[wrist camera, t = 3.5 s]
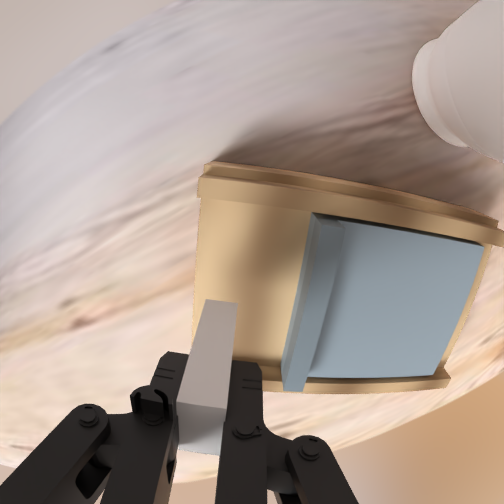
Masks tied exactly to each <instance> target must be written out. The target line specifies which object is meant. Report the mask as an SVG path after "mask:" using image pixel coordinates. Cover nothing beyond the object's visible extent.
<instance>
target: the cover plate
mask: <svg viewBox="0 0 504 504" xmlns="http://www.w3.org/2000/svg"><path fill="white" fill-rule="evenodd" d="M483 251H484V246H482V245H481V244H479V243H477V242H475V241H472V240H467V239H462V238H457V237H453V236H448V235H443V234H438V233H432V232H427V231H422V230H417V229H411V228H406V227H400V226H395V225H389V224H384V223H378V222H372V221H366V220H360V219H354V218H347V217H341V216H335V215H328V214H322V213H315V212H311V217H310V223H309V228H308V234H307V239H306V245H305V250H304V255H303V260H302V265H301V271H300V276H299V281H298V285H297V290H296V295H295V300H294V305H293V309H292V314H291V319H290V323H289V328H288V332H287V337H286V341H285V345H284V350H283V354H282V358H281V363H280V366H281V375H282V384H283V391H291V392H303V389H304V386H305V382H306V379H307V377H329V378H381V377H408V376H425V375H433V374H434V372H435V370H436V368H437V366H438V364H439V362H440V360H441V358H442V356H443V354H444V352H445V350H446V348H447V346H448V343H449V341H450V339H451V337H452V335H453V332H454V330H455V328H456V326H457V323H458V321H459V318H460V316H461V314H462V311H463V309H464V306H465V304H466V301H467V298H468V296H469V293H470V290H471V287H472V285H473V282H474V279H475V276H476V273H477V270H478V267H479V264H480V261H481V257H482V254H483Z"/></svg>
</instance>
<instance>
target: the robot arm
mask: <svg viewBox="0 0 504 504" xmlns="http://www.w3.org/2000/svg"><path fill="white" fill-rule="evenodd" d="M237 307H238V303H233V302H225V301H218V300H210V299H206V300H205V303H204V307H203V310H202V313H201V317H200V320H199V323H198V327H197V330H196V334H195V337H194V340H193V344H192V347H191V351H190V354H189V355H188V354H181V353H175V352H169V351H168V352H167V353H166V354H165V355H163V356H162V357H161V358H160V360H159V362H158V365H157V368H156V370H155V373H154V376H153V378H152V380H151V383H150V385H147V386H142V387H139V388H137V389H136V390H134V391H133V392H132V394H131V395H130V400H131V405H132V411H133V412H130V413H127V414H107V413H106V411H105V410H104V409H103V408H101V407H100V406H97V405H94V404H83V405H79V406H77V407H76V408H74V409H73V410H72V411H71V412H70V413H69V414H68V415H67V416H66V417H65V418H64V419H63V420H62V421H61V422H60V423H59V424H58V425H57V427H56V428H55V429H54V430H53V431H52V432H51V433H50V434H49V435H48V436H47V437H46V438H45V439H44V440H43V441H42V442H41V443H40V444H39V445H38V446H37V447H36V448H35V449H34V450H33V452H32V453H31V454H30V455H29V456H28V457H27V458H26V459H25V460H24V461H23V462H22V463H21V464H20V465H19V466H18V467H17V468H16V470H15V471H14V472H13V473H12V474H11V475H10V476H9V477H8V478H7V479H6V480H5V481H4V482H3V484H2V485H1V486H0V504H94V503H95V502H96V500H97V499H98V497H99V496H100V495H101V493H102V492H103V491H104V493H103V496H102V499H101V502H100V504H168V502H169V497H170V492H171V487H172V482H173V477H174V472H175V468H176V463H177V460H176V453H177V448H178V447H179V450H184V451H190V452H197V453H203V454H211V455H219V456H220V459H219V468H218V476H217V486H216V496H215V504H267V489H268V490H271V491H274V494H275V497H276V500H277V503H278V504H359V503H358V502H357V500H356V498H355V496H354V494H353V492H352V490H351V488H350V486H349V484H348V482H347V480H346V479H345V476H344V474H343V472H342V471H341V469H340V467H339V465H338V463H337V461H336V459H335V457H334V455H333V453H332V451H331V449H330V447H329V446H328V445H327V443H326V442H325V441H324V440H322V439H320V438H319V437H315V436H311V435H303V436H300V437H297V438H295V439H294V440H293V441H292V440H289V439H286V438H282V437H280V436H277V435H275V434H273V433H272V432H271V431H269V429H268V428H267V427H266V426H265V424H264V421H263V391H262V389H263V388H262V370H261V369H260V367H259V365H258V364H257V363H256V362H247V361H238V360H232V353H233V344H234V334H235V325H236V316H237ZM104 489H105V490H104Z"/></svg>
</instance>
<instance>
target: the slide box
mask: <svg viewBox="0 0 504 504" xmlns="http://www.w3.org/2000/svg"><path fill="white" fill-rule="evenodd" d="M197 197H198V198H201V203H200V214H199V226H198V239H197V252H196V267H195V283H194V301H193V322H192V344H193V340H194V337H195V334H196V330H197V327H198V323H199V320H200V317H201V313H202V310H203V307H204V303H205V300H206V299H210V300H218V301H225V302H233V303H238V307H237V316H236V325H235V334H234V344H233V353H232V360H238V361H247V362H256V363H257V364H258V365H259V367H260V369H261V370H262V388H263V389H262V391H267V392H283V393H306V394H369V393H391V392H407V391H419V390H430V389H439V388H446V387H447V385H448V383H449V381H450V380H451V377H450V376H449V375H448V373H447V372H446V370H445V369H444V365H445V364H446V362H447V360H448V358H449V356H450V354H451V351H452V349H453V347H454V345H455V343H456V341H457V339H458V337H459V334H460V332H461V330H462V328H463V325H464V323H465V321H466V318H467V316H468V313H469V311H470V309H471V306H472V303H473V301H474V298H475V296H476V293H477V290H478V288H479V285H480V282H481V279H482V276H483V273H484V270H485V267H486V264H487V261H488V258H489V254H490V251H491V248H492V245H495V246H500V247H504V231H503V230H501V229H499V228H497V225H498V220H495V219H493V218H491V217H489V216H486V215H484V214H482V213H479V212H477V211H475V210H472V209H469V208H465V207H462V206H458V205H454V204H450V203H447V202H443V201H439V200H435V199H431V198H427V197H423V196H419V195H415V194H410V193H406V192H402V191H397V190H393V189H388V188H383V187H379V186H374V185H369V184H364V183H359V182H354V181H348V180H343V179H338V178H332V177H326V176H320V175H315V174H308V173H302V172H296V171H289V170H282V169H275V168H268V167H261V166H253V165H245V164H236V163H227V162H218V161H211V162H209V163H207V164H205V165H204V173H203V175H201V176H200V177H199V180H198V190H197ZM311 212H315V213H322V214H328V215H335V216H341V217H347V218H354V219H360V220H366V221H372V222H378V223H384V224H389V225H395V226H400V227H406V228H411V229H417V230H422V231H427V232H432V233H438V234H443V235H448V236H453V237H457V238H462V239H467V240H472V241H475V242H477V243H479V244H481V245H482V246H484V251H483V254H482V257H481V261H480V264H479V267H478V270H477V273H476V276H475V279H474V282H473V285H472V287H471V290H470V293H469V296H468V298H467V301H466V304H465V306H464V309H463V311H462V314H461V316H460V318H459V321H458V323H457V326H456V328H455V330H454V332H453V335H452V337H451V339H450V341H449V343H448V346H447V348H446V350H445V352H444V354H443V356H442V358H441V360H440V362H439V364H438V366H437V368H436V370H435V372H434V374H433V375H425V376H408V377H381V378H329V377H307V379H306V382H305V386H304V389H303V392H291V391H283V384H282V375H281V366H280V363H281V358H282V354H283V350H284V345H285V341H286V337H287V332H288V328H289V323H290V319H291V314H292V309H293V305H294V300H295V295H296V290H297V285H298V281H299V276H300V271H301V265H302V260H303V255H304V250H305V245H306V239H307V234H308V228H309V223H310V217H311Z"/></svg>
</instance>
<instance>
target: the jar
mask: <svg viewBox="0 0 504 504" xmlns="http://www.w3.org/2000/svg"><path fill="white" fill-rule="evenodd" d="M412 85H413V91H414V96H415V99H416V102H417V105H418V107H419V110H420V112H421V114H422V116H423V118H424V119H425V121H426V122H427V124H428V125H429V127H430V128H431V129H432V130H433V131H434V132H435V133H436V134H437V135H438V136H439V137H440V138H442V139H443V140H444V141H446V142H448V143H450V144H452V145H455V146H459V147H470V148H472V149H473V150H475V151H477V152H479V153H480V154H482V155H484V156H487V157H489V158H491V159H494V160H497V161H499V162H501V163H503V164H504V0H480V1H479V2H477V3H476V4H474V5H473V6H472V7H470V8H469V9H468V10H467V11H466V12H464V13H463V14H462V15H461V16H460V17H459V18H458V19H457V20H455V21H454V22H453V23H452V24H451V25H449V26H448V27H447V28H446V29H445V30H444V32H443V33H442V34H441V35H440V37H439V38H437V39H433V40H431V41H429V42H427V43H426V44H425V45H423V46H422V48H421V49H420V50H419V52H418V53H417V55H416V58H415V60H414V64H413V69H412Z"/></svg>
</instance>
